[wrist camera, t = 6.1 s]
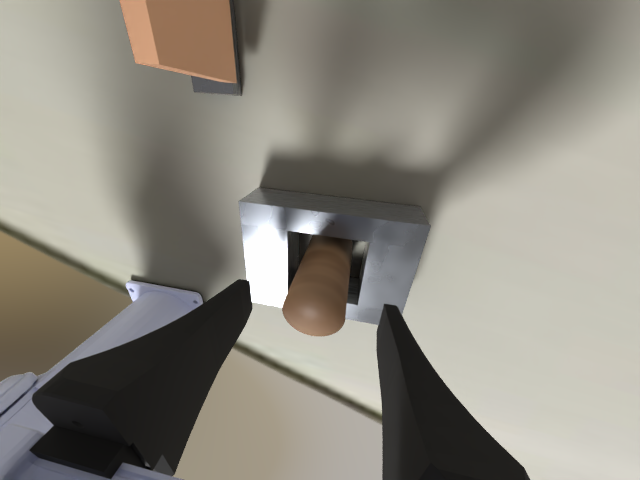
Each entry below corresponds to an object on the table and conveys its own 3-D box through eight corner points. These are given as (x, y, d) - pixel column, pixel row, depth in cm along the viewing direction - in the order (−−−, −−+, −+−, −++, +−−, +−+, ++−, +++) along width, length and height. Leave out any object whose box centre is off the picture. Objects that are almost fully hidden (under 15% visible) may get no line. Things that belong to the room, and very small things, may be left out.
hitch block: (393, 299, 19) (397, 328, 17) (264, 277, 20) (249, 301, 18) (420, 206, 15) (430, 226, 13) (258, 187, 17) (238, 201, 14)
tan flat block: (236, 83, 12) (159, 64, 7) (222, 82, 12) (135, 63, 7) (226, -27, 10) (112, -151, 5) (209, -27, 10) (80, -150, 5)
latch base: (241, 95, 14) (233, 94, 13) (204, 93, 14) (193, 91, 13) (231, -24, 12) (220, -35, 11) (187, -24, 12) (172, -35, 11)
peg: (350, 265, 18) (342, 341, 12) (310, 260, 19) (283, 330, 13) (354, 228, 17) (348, 294, 11) (311, 224, 17) (281, 284, 11)
